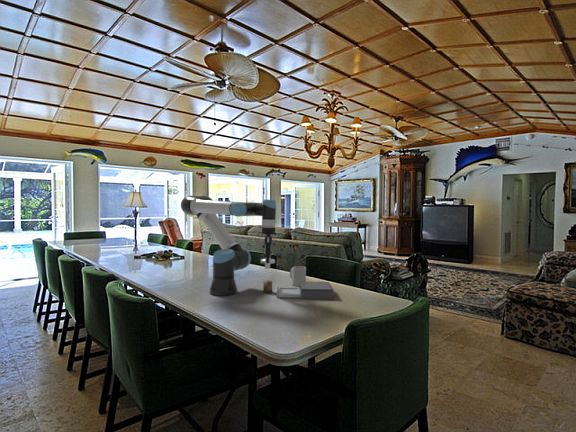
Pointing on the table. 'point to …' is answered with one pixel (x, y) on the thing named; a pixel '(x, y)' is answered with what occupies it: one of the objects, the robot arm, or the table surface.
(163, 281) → the table surface
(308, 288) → the housing
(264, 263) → the disc
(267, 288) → the brown rounded cylinder
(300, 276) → the mug
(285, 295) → the tray
